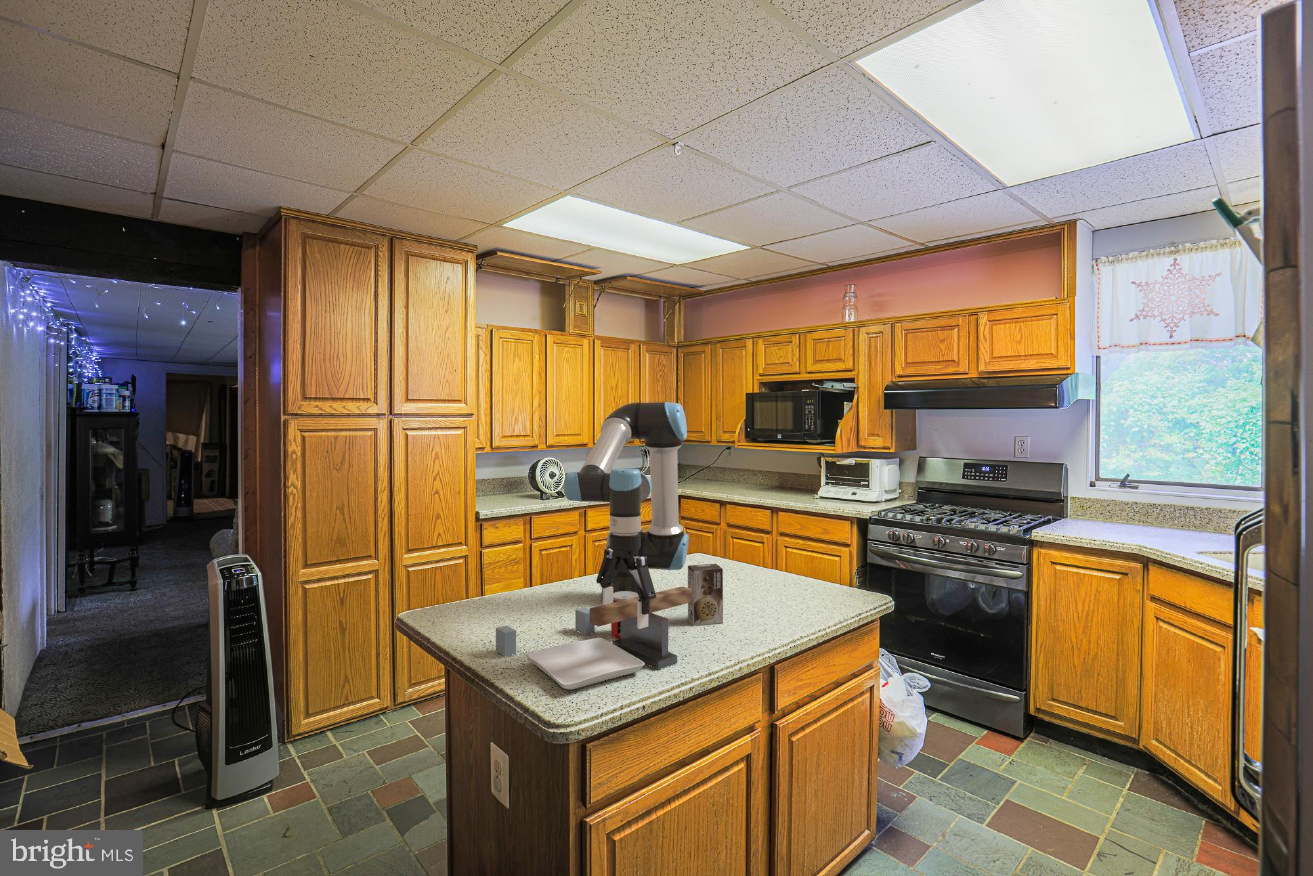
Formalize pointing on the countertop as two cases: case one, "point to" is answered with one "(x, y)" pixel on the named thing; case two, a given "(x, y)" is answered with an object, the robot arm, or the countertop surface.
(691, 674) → the countertop surface
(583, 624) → the support blocks
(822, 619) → the countertop surface
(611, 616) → the walnut bar
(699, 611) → the coffee box
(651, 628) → the ridge
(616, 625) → the canned food
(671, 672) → the countertop surface
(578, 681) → the salad plate
